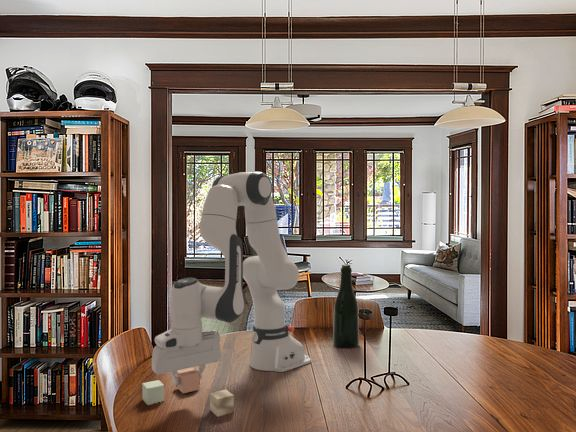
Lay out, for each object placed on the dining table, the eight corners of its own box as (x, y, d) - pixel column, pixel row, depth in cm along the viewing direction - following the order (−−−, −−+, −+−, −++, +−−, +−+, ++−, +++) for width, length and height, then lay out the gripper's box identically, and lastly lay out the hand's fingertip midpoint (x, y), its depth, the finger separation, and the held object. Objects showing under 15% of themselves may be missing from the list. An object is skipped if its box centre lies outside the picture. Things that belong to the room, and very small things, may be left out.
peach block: (193, 383, 148) (192, 367, 148) (199, 389, 144) (199, 372, 143) (176, 387, 145) (176, 370, 145) (183, 393, 141) (182, 376, 141)
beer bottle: (341, 339, 210) (341, 262, 208) (363, 344, 203) (363, 264, 202) (328, 346, 201) (328, 265, 200) (351, 350, 195) (351, 267, 194)
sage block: (158, 395, 152) (158, 379, 152) (164, 401, 148) (164, 385, 147) (142, 399, 149) (142, 383, 149) (147, 405, 145) (147, 388, 145)
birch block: (226, 406, 144) (226, 389, 144) (233, 412, 140) (233, 395, 140) (210, 410, 141) (210, 393, 141) (217, 416, 137) (217, 399, 137)
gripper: (215, 326, 152) (216, 371, 153) (149, 338, 141) (150, 386, 142) (224, 331, 147) (225, 377, 147) (156, 344, 136) (157, 393, 136)
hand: (188, 382), depth 144 cm, fingers closed on peach block, 5 cm apart
